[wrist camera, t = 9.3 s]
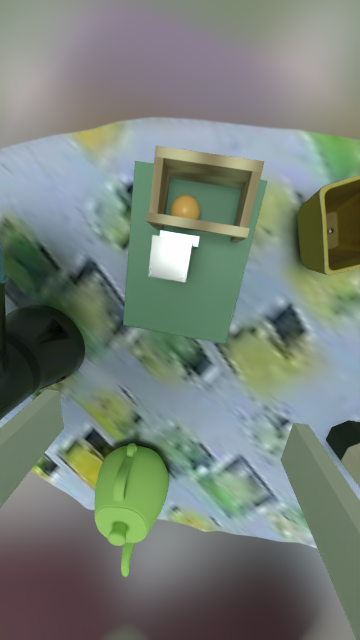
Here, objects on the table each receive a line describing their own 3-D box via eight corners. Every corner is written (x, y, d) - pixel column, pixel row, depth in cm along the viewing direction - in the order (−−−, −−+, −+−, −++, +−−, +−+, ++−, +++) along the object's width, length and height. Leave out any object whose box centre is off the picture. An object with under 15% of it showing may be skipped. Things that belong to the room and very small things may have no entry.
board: (125, 323, 34) (123, 324, 33) (137, 164, 27) (135, 160, 26) (224, 341, 33) (225, 343, 32) (264, 183, 26) (267, 180, 25)
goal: (157, 229, 28) (146, 221, 22) (164, 168, 26) (153, 140, 20) (236, 242, 28) (247, 237, 22) (251, 181, 26) (267, 156, 20)
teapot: (171, 501, 47) (162, 587, 35) (113, 494, 49) (84, 575, 36) (170, 432, 41) (157, 507, 28) (103, 427, 42) (63, 497, 30)
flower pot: (281, 210, 27) (320, 186, 18) (349, 189, 25) (426, 153, 17) (288, 272, 29) (325, 276, 21) (351, 256, 28) (419, 253, 19)
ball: (171, 186, 23) (174, 198, 27) (166, 222, 24) (170, 228, 28) (203, 191, 23) (202, 203, 27) (197, 227, 24) (197, 233, 28)
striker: (161, 270, 30) (143, 275, 20) (165, 234, 28) (148, 221, 18) (192, 276, 29) (190, 283, 20) (199, 240, 28) (199, 229, 18)
